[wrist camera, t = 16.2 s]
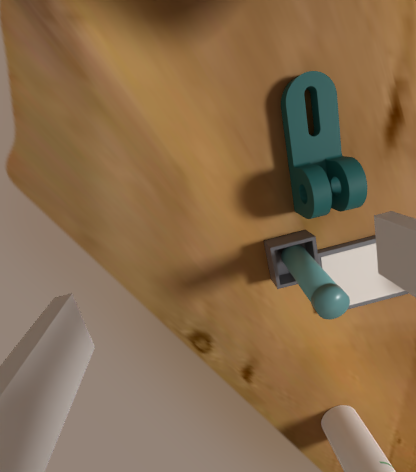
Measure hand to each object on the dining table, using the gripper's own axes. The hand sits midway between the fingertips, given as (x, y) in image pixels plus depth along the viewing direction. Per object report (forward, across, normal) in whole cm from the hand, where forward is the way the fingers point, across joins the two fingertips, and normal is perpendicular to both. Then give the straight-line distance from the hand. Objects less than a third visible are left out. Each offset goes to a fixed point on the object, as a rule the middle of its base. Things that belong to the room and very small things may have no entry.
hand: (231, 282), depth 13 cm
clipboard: (+32, +23, -20) cm, 44 cm away
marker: (+31, +12, -13) cm, 35 cm away
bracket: (+32, +17, +2) cm, 36 cm away
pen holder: (+32, +12, -14) cm, 37 cm away
